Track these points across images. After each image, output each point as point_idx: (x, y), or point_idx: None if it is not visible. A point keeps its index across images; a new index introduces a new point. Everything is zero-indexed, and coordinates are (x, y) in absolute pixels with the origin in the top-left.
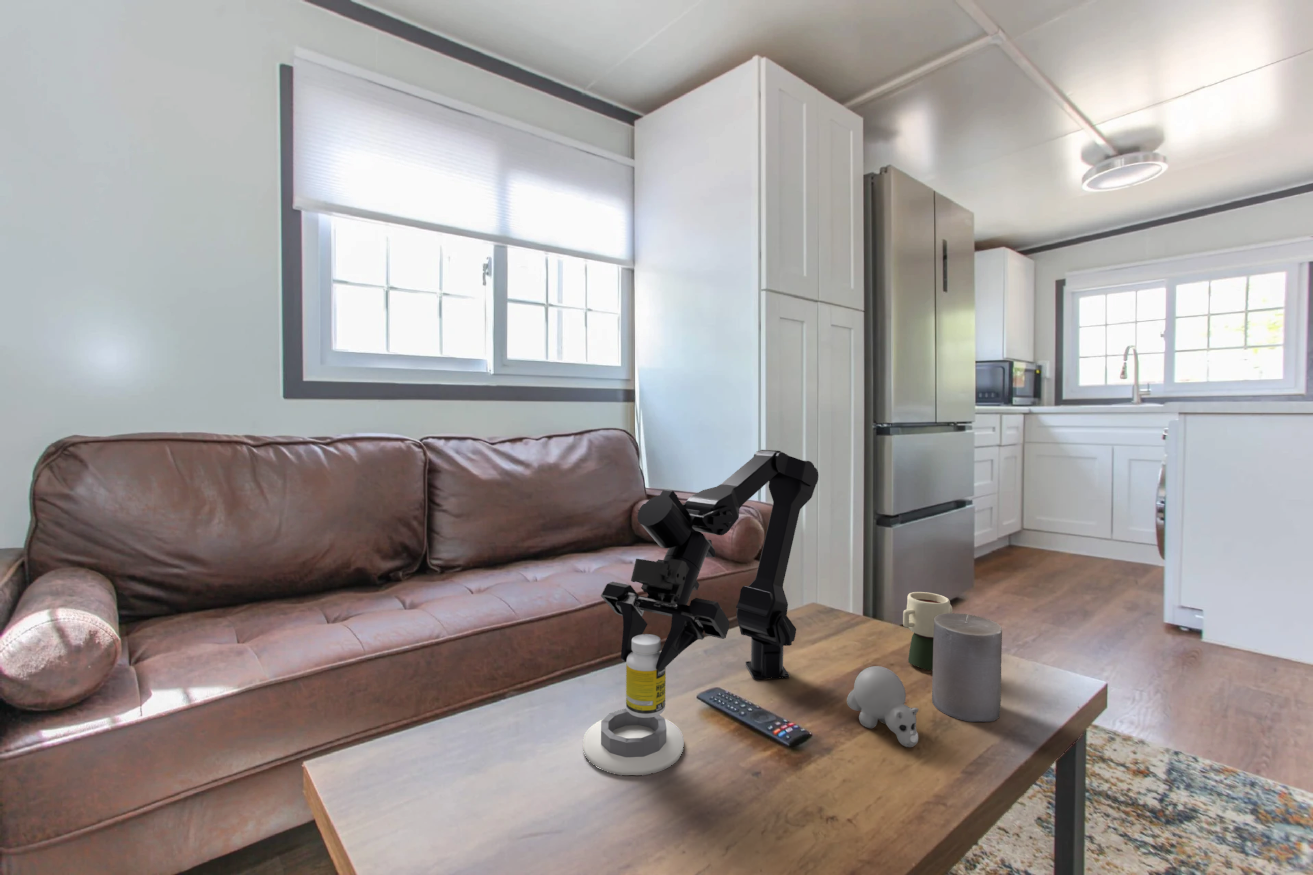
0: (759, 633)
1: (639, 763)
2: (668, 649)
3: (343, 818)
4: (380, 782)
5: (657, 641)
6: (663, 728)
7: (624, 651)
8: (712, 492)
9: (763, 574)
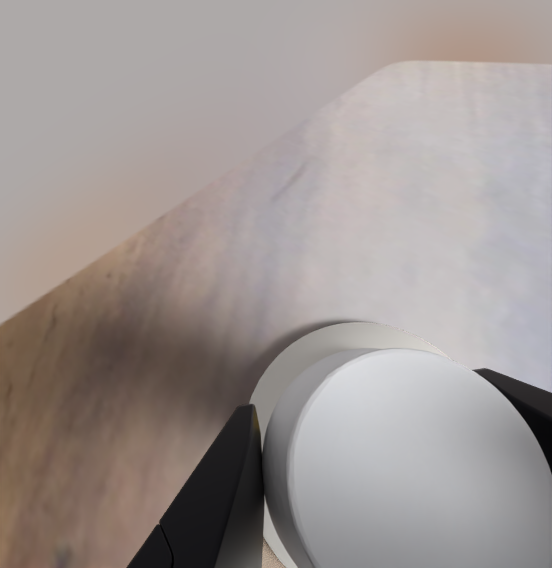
0: None
1: (283, 373)
2: (182, 488)
3: (486, 67)
4: (544, 106)
5: (305, 505)
6: None
7: (497, 384)
8: None
9: None
